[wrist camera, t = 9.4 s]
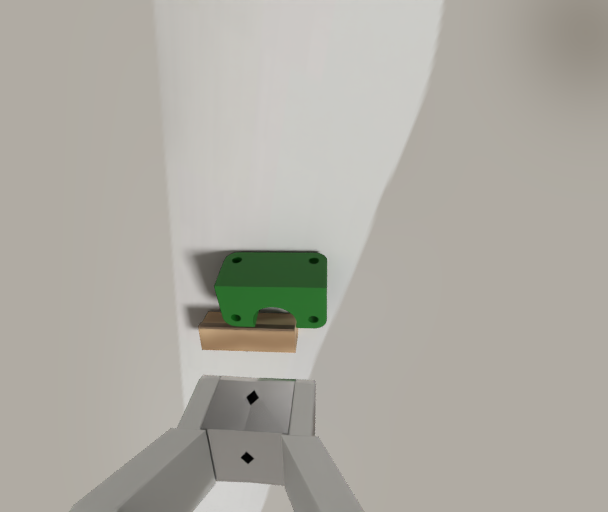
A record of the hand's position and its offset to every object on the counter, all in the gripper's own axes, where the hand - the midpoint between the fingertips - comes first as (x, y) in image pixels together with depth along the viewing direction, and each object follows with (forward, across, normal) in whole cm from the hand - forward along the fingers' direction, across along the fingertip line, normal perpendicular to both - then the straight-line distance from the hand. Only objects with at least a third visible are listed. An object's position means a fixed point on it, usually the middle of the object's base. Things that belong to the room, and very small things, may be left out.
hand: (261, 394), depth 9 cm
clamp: (+28, +4, +13) cm, 31 cm away
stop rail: (+28, +7, +19) cm, 34 cm away
